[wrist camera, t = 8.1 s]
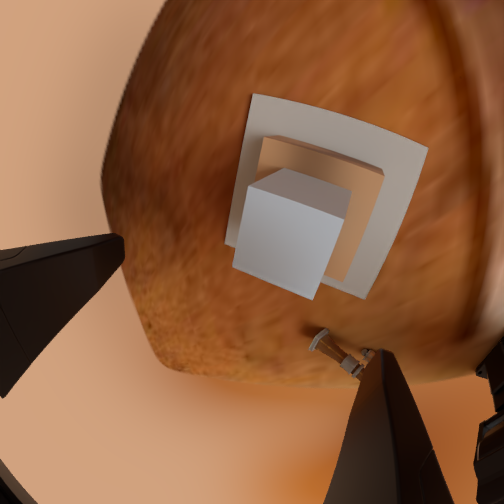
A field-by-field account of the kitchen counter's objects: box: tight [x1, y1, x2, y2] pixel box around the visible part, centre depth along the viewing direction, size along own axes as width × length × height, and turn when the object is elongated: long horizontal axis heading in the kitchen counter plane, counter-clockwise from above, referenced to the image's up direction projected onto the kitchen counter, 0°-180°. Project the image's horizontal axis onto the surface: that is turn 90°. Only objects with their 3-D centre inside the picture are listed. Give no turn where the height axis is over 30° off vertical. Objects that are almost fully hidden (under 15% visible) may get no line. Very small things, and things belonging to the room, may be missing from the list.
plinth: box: [254, 135, 385, 282], centre depth 17 cm, size 7×7×3 cm
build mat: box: [225, 93, 428, 300], centre depth 18 cm, size 12×12×1 cm
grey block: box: [232, 168, 352, 300], centre depth 14 cm, size 4×4×5 cm
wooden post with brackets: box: [308, 328, 376, 381], centre depth 21 cm, size 2×8×4 cm, turn 78°
